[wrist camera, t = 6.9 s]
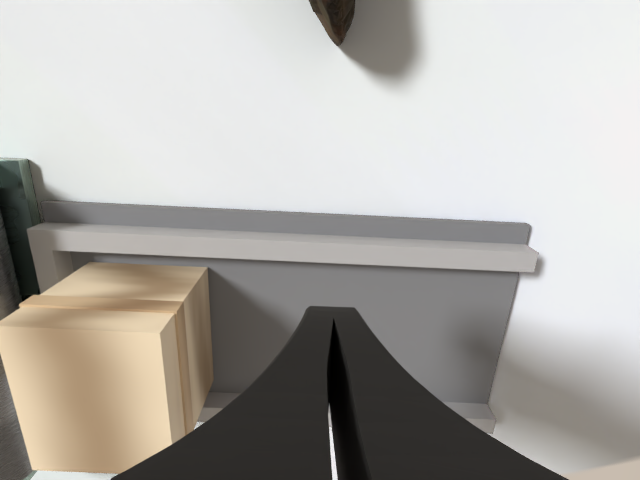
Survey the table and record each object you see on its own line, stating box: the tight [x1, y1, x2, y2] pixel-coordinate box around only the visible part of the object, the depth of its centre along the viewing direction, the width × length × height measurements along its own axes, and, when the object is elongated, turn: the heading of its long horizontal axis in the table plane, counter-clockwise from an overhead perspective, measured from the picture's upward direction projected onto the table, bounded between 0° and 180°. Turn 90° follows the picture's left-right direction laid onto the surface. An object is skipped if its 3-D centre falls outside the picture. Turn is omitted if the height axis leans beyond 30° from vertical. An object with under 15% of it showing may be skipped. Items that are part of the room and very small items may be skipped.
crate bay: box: [27, 200, 539, 434], centre depth 20 cm, size 24×13×2 cm, turn 87°
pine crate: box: [0, 262, 214, 474], centre depth 18 cm, size 6×7×6 cm
